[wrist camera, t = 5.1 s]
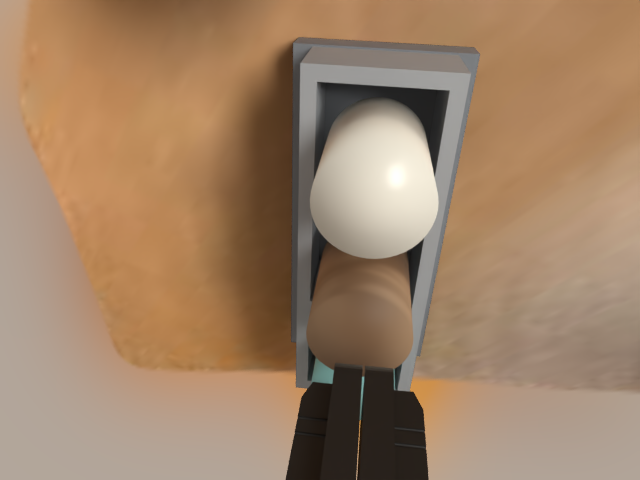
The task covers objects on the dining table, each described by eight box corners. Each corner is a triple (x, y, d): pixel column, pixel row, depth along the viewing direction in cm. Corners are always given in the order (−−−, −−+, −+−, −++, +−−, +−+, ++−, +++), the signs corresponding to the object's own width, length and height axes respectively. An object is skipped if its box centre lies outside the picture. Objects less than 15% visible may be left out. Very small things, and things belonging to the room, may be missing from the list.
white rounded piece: (434, 100, 23) (449, 149, 17) (419, 195, 25) (427, 264, 20) (329, 93, 23) (311, 139, 18) (325, 187, 26) (308, 252, 20)
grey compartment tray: (474, 47, 27) (496, 73, 22) (418, 338, 39) (423, 403, 33) (298, 37, 28) (276, 59, 22) (295, 324, 39) (280, 386, 34)
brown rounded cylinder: (413, 228, 27) (420, 302, 21) (402, 299, 29) (406, 382, 24) (323, 220, 27) (307, 290, 21) (320, 291, 30) (304, 370, 24)
